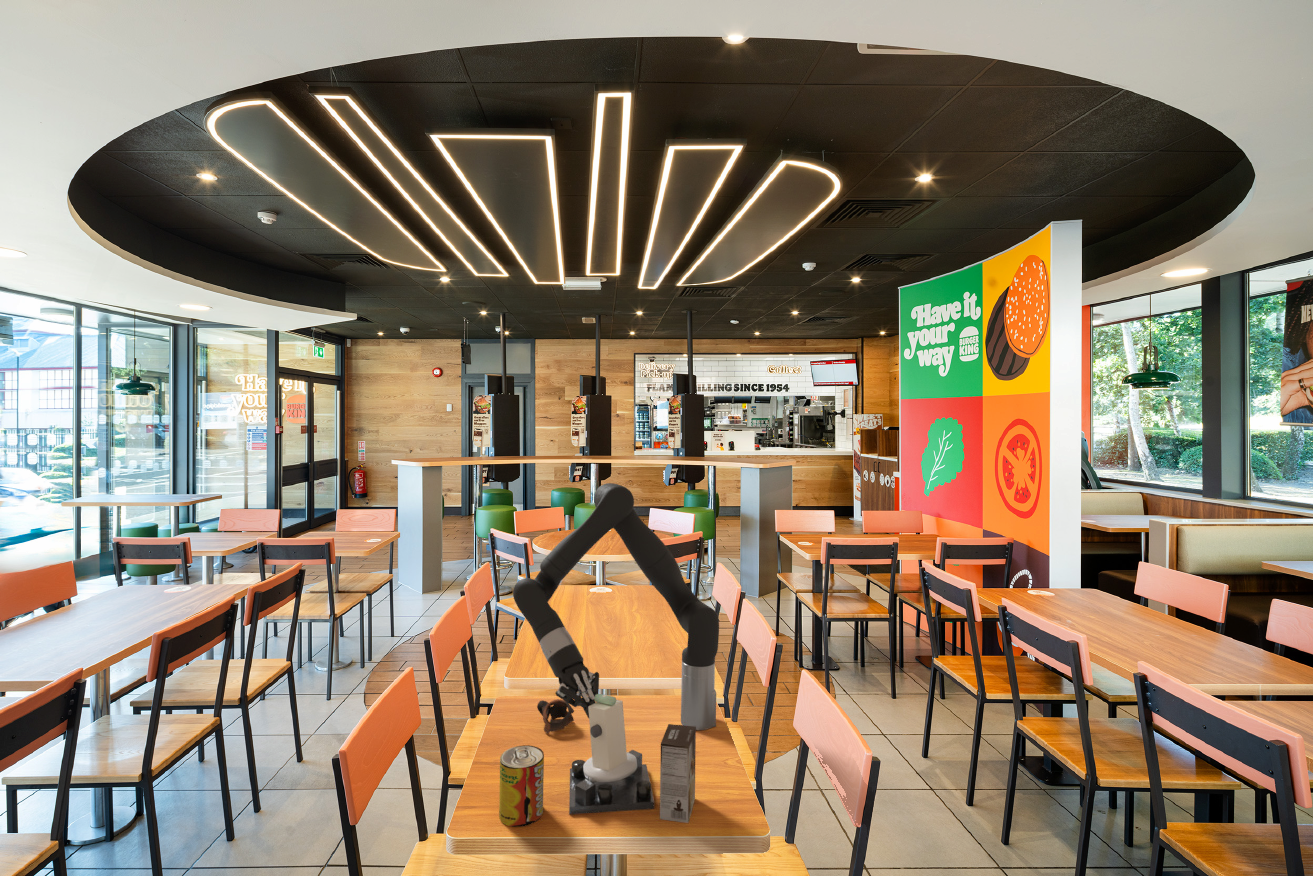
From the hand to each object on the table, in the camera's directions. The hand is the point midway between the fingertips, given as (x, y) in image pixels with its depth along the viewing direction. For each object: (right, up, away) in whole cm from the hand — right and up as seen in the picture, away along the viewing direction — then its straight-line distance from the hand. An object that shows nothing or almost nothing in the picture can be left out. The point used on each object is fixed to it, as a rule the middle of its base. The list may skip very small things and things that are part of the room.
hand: (596, 718), depth 138 cm
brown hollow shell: (-14, -15, +27) cm, 34 cm away
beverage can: (-15, -15, -11) cm, 24 cm away
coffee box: (+18, -16, -9) cm, 26 cm away
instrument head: (+3, -10, -3) cm, 11 cm away
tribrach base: (+3, -15, -3) cm, 16 cm away
